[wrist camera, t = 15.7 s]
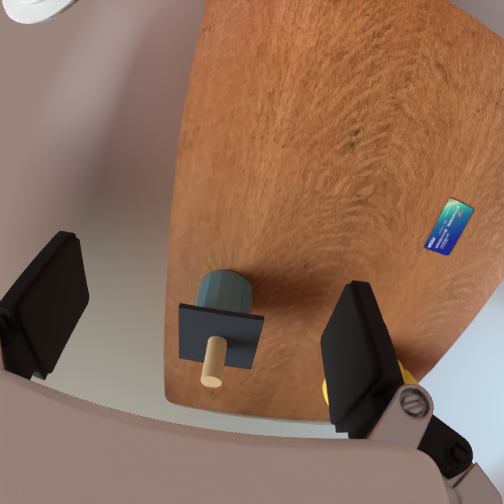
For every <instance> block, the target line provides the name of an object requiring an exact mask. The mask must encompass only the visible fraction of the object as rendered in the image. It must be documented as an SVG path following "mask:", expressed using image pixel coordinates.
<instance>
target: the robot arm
mask: <svg viewBox="0 0 504 504" xmlns="http://www.w3.org/2000/svg"><path fill="white" fill-rule="evenodd" d="M17 1H18V2H20V3H23V4H37V3H40V2H43V1H45V0H17ZM88 301H89V292H88V287H87V282H86V276H85V271H84V265H83V259H82V253H81V246H80V241H79V239H78V238H76V235H75V234H74V233H70V232H65V231H59V232H58V233H57V234H56V235H55V236H54V237H53V238H52V239H51V240H50V241H49V243H48V244H47V245H46V246H45V247H44V248H43V249H42V250H41V252H40V253H39V254H38V255H37V256H36V257H35V259H34V260H33V261H32V262H31V263H30V264H29V266H28V267H27V268H26V269H25V270H24V272H23V273H22V274H21V275H20V277H19V278H18V279H17V280H16V282H15V283H14V284H13V285H12V287H11V288H10V289H9V290H8V292H7V293H6V294H5V296H4V297H3V298H2V300H1V301H0V504H502V499H501V496H500V494H499V492H498V491H497V489H496V488H495V486H494V485H493V484H492V482H491V481H490V480H489V478H488V477H487V476H486V474H485V473H484V472H483V470H482V469H481V467H480V466H479V465H478V464H477V462H476V463H475V464H473V463H472V459H473V452H472V448H471V446H470V444H469V443H468V441H466V439H465V438H463V437H462V436H461V435H459V434H458V433H457V432H455V431H454V430H453V429H451V428H450V427H449V426H447V425H446V424H445V423H443V422H442V421H441V420H439V419H438V418H437V417H436V416H434V415H433V410H434V405H433V401H432V398H431V396H430V395H429V393H428V392H427V391H426V390H425V389H424V388H423V387H421V386H419V385H417V384H412V383H409V384H405V382H404V379H403V376H402V373H401V369H400V366H399V363H398V360H397V357H396V354H395V350H394V347H393V344H392V341H391V338H390V336H389V333H388V330H387V327H386V325H385V323H384V321H383V318H382V315H381V313H380V310H379V307H378V304H377V302H376V299H375V296H374V294H373V291H372V288H371V286H370V284H369V283H368V282H362V281H356V280H353V281H352V282H351V283H350V284H346V285H345V287H344V290H343V292H342V294H341V296H340V298H339V300H338V303H337V305H336V307H335V309H334V311H333V313H332V315H331V317H330V319H329V322H328V324H327V326H326V328H325V330H324V332H323V334H322V336H321V351H322V358H323V365H324V372H325V380H326V388H327V396H328V404H329V412H330V420H331V423H332V424H333V425H335V428H336V432H337V433H341V432H342V433H343V432H348V438H349V439H319V438H293V437H276V436H263V435H252V434H241V433H233V432H225V431H218V430H210V429H204V428H198V427H191V426H186V425H181V424H176V423H171V422H166V421H160V420H156V419H152V418H148V417H143V416H139V415H135V414H131V413H127V412H123V411H120V410H116V409H112V408H109V407H105V406H102V405H99V404H95V403H92V402H89V401H86V400H82V399H79V398H77V397H74V396H71V395H68V394H65V393H62V392H59V391H57V390H54V389H51V388H49V387H46V386H43V385H41V384H38V383H35V382H33V381H30V379H31V377H32V375H33V376H35V377H38V378H40V379H43V380H45V379H46V377H47V375H48V373H49V374H50V373H52V371H53V370H54V368H55V365H56V363H57V361H58V359H59V357H60V355H61V353H62V351H63V349H64V347H65V345H66V343H67V341H68V340H69V338H70V336H71V334H72V332H73V330H74V328H75V326H76V324H77V322H78V320H79V319H80V317H81V315H82V313H83V312H84V310H85V308H86V306H87V304H88Z"/></svg>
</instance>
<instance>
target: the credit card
mask: <svg viewBox="0 0 504 504" xmlns="http://www.w3.org/2000/svg"><path fill="white" fill-rule="evenodd" d="M472 213H473V208H471V207H469V206H467V205H465V204H463V203H461V202H459V201H457V200H455V199H453V198H450V199H449V200H448V202H447V204H446V206H445V208H444V210H443V212H442V214H441V216H440V218H439V220H438V222H437V223H436V225H435V227H434V229H433V231H432V233H431V235H430V236H429V238H428V240H427V242H426V244H425V245H424V247H425V248H426V249H429V250H432V251H435V252H438V253H441V254H443V255H446V256H447V255H449V254H450V252H451V251H452V249H453V247H454V245H455V244H456V242H457V240H458V238H459V237H460V235H461V233H462V231H463V229H464V228H465V226H466V224H467V222H468V220H469V218H470V216H471V214H472Z"/></svg>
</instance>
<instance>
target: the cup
mask: <svg viewBox="0 0 504 504" xmlns="http://www.w3.org/2000/svg"><path fill="white" fill-rule="evenodd" d="M252 301H253V291H252V287H251V285H250V283H249V282H248V280H247V279H246V278H244V277H243V276H242V275H240V274H238V273H236V272H233V271H228V270H219V271H214V272H211V273H209V274H207V275H206V276H205V277H204V278H203V279H202V280H201V282H200V285H199V287H198V290H197V294H196V298H195V301H194V306H200V307H206V308H212V309H218V310H225V311H231V312H238V313H245V314H252Z"/></svg>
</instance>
